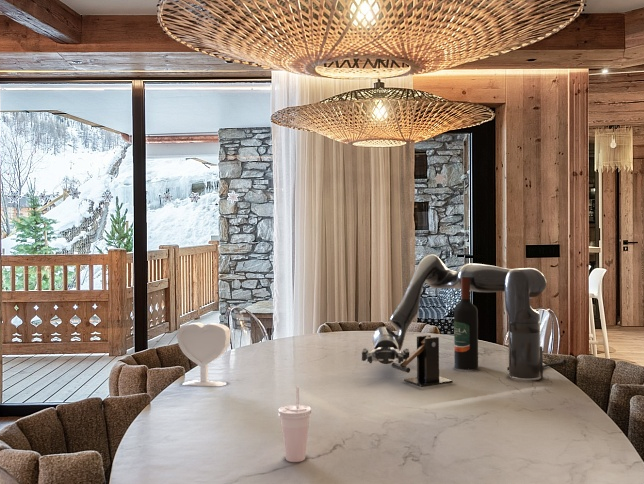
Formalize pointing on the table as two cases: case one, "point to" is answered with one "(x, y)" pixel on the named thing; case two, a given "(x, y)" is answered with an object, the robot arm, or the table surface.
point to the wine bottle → (465, 330)
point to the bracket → (428, 364)
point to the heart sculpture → (203, 347)
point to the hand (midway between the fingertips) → (384, 359)
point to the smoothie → (295, 429)
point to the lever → (409, 358)
